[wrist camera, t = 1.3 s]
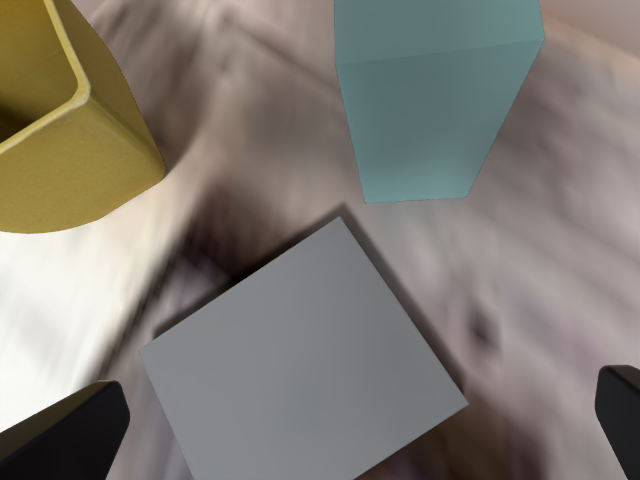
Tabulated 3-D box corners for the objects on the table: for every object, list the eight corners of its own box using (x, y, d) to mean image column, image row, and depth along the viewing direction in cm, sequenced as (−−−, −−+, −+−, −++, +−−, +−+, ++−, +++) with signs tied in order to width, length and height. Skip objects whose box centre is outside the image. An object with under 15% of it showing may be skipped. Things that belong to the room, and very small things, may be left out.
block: (465, 197, 20) (545, 39, 9) (365, 203, 21) (335, 65, 10) (457, 107, 21) (518, -121, 11) (362, 117, 22) (332, -86, 12)
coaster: (464, 399, 18) (468, 403, 17) (240, 545, 18) (229, 559, 17) (342, 223, 21) (339, 216, 20) (151, 350, 21) (137, 350, 20)
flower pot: (36, 149, 26) (-145, 53, 17) (151, 77, 25) (27, -58, 17) (78, 265, 23) (-110, 221, 14) (207, 186, 23) (93, 93, 14)
